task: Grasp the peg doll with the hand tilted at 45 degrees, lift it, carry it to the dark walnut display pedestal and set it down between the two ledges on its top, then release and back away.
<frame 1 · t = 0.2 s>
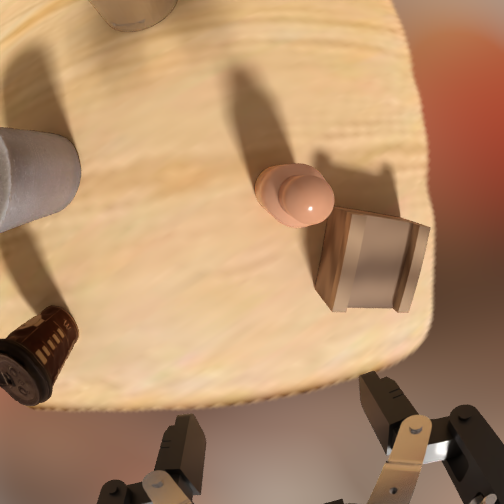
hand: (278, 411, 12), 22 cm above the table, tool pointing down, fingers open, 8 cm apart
peg doll: (278, 189, 31), on the table
pedestal: (360, 252, 34), on the table
pillar candle: (51, 174, 28), on the table
coffee cup: (59, 325, 33), on the table
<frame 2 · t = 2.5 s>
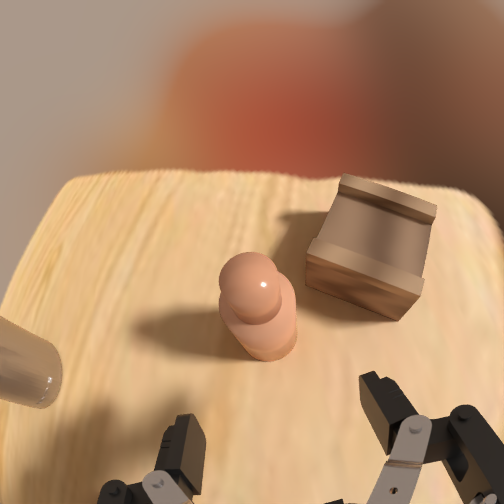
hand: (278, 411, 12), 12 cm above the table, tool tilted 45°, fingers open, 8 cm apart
peg doll: (269, 334, 27), on the table
pedestal: (367, 261, 29), on the table
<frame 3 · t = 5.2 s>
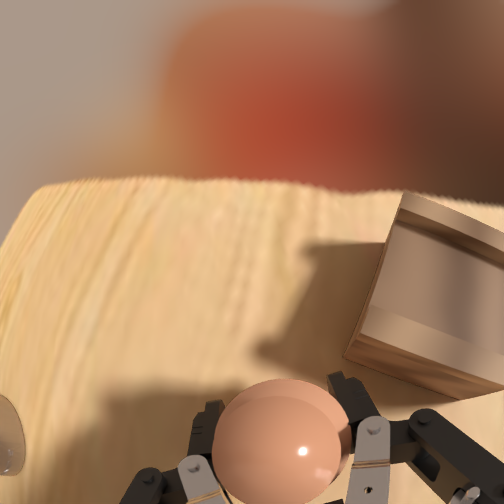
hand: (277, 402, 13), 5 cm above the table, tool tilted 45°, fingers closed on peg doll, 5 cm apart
peg doll: (288, 430, 16), on the table, touching gripper
pedestal: (426, 317, 19), on the table
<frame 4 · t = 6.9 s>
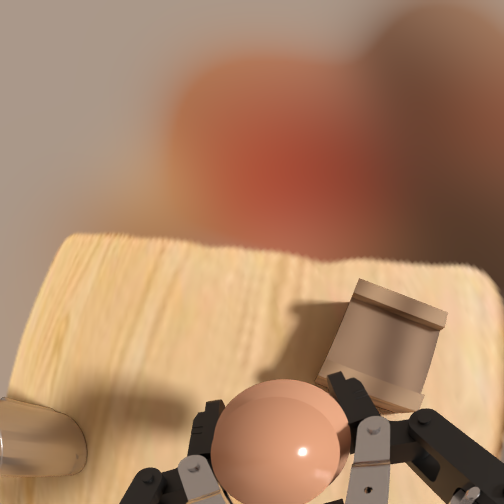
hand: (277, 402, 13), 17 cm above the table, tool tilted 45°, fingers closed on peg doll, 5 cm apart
peg doll: (288, 430, 16), point 12 cm above the table, touching gripper
pedestal: (374, 356, 29), on the table
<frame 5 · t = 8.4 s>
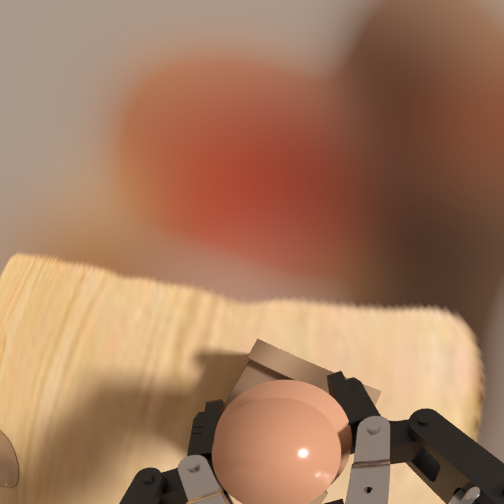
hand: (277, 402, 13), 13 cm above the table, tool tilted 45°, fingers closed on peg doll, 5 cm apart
peg doll: (288, 431, 16), point 7 cm above the table, touching gripper
pedestal: (289, 424, 23), on the table
when the fingers open (12 cm above the table, at t = 9.0 s): peg doll drops 1 cm, resting on pedestal.
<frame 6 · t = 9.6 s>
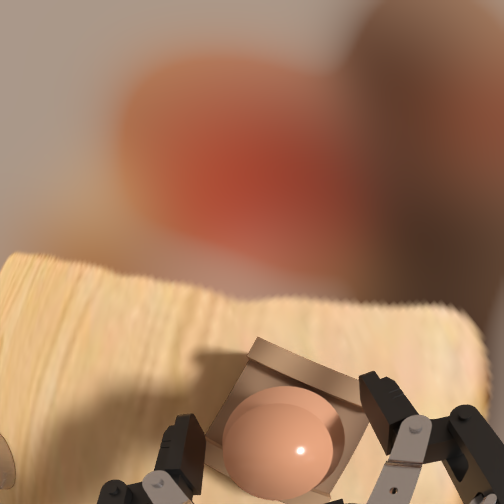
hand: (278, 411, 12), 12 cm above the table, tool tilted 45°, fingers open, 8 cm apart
peg doll: (289, 431, 18), point 5 cm above the table, touching pedestal
pedestal: (290, 426, 22), on the table
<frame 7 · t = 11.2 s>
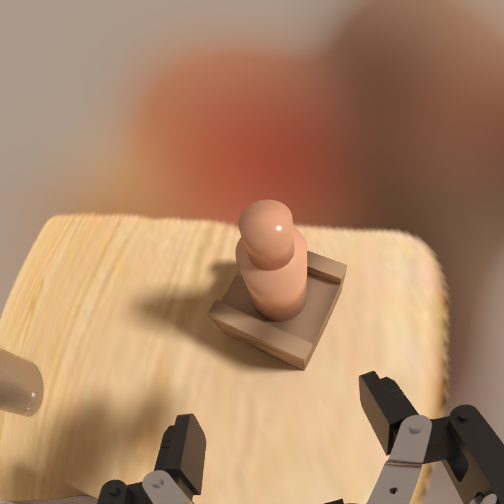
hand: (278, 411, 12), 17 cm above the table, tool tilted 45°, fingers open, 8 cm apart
peg doll: (279, 296, 29), point 5 cm above the table, touching pedestal
pedestal: (283, 312, 33), on the table
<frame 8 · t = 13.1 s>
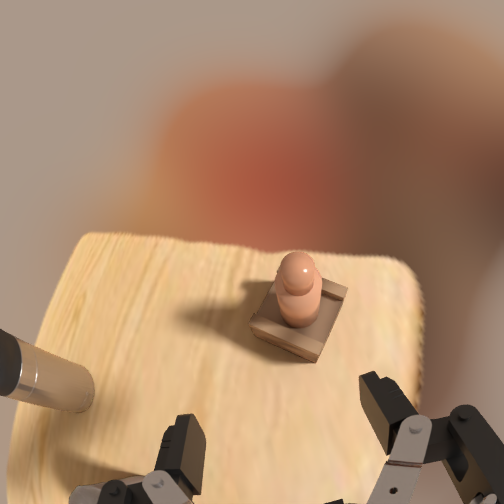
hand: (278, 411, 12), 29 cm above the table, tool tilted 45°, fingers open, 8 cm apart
peg doll: (299, 310, 39), point 5 cm above the table, touching pedestal
pedestal: (299, 320, 44), on the table
pillar candle: (148, 500, 31), on the table
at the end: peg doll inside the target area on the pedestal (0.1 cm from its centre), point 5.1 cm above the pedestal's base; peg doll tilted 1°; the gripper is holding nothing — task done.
